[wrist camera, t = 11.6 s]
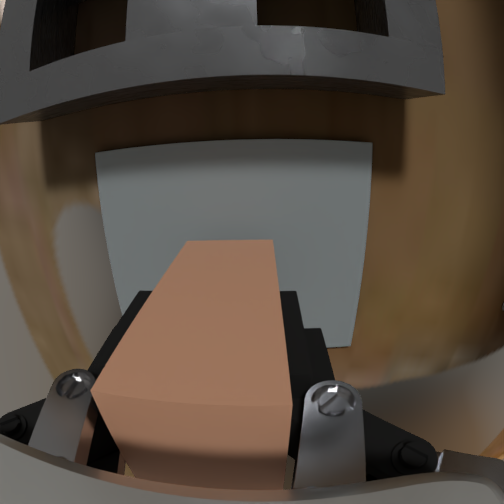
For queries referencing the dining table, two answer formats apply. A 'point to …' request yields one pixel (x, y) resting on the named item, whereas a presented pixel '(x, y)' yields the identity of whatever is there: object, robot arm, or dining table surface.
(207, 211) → the mat
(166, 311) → the plug
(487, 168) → the dining table surface
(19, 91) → the socket plate
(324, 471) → the robot arm
